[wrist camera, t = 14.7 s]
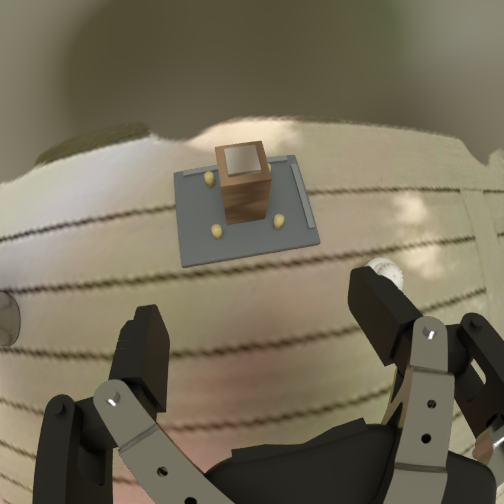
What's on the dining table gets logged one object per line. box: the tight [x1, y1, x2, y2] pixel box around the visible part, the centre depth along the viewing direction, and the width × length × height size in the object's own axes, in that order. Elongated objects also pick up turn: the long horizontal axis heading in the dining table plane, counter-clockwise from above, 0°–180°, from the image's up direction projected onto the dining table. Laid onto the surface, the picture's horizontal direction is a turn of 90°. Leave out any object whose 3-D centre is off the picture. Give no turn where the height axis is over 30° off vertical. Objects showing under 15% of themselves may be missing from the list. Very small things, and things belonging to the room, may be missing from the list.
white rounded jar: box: [365, 257, 403, 291], centre depth 31 cm, size 6×6×7 cm
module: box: [215, 141, 272, 225], centre depth 31 cm, size 5×5×11 cm
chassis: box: [174, 155, 320, 268], centre depth 36 cm, size 18×14×4 cm
